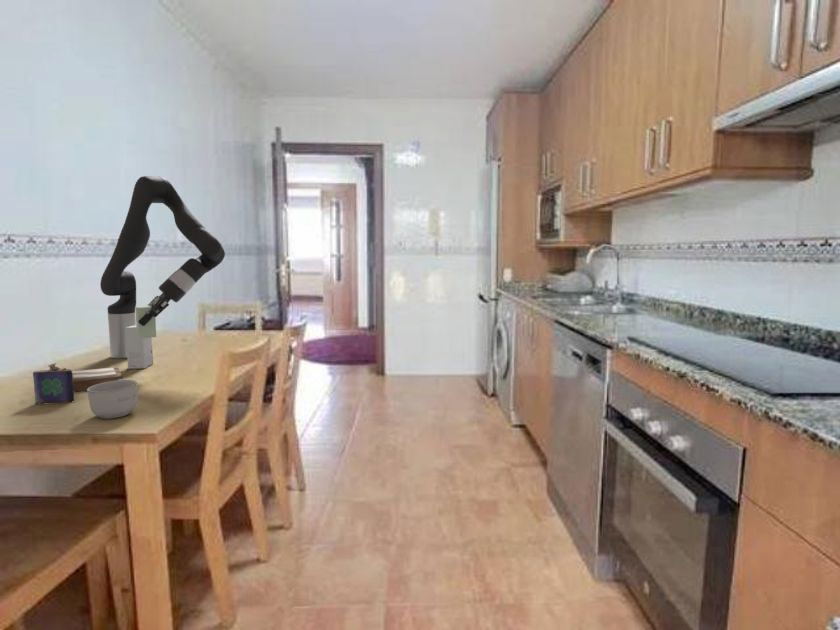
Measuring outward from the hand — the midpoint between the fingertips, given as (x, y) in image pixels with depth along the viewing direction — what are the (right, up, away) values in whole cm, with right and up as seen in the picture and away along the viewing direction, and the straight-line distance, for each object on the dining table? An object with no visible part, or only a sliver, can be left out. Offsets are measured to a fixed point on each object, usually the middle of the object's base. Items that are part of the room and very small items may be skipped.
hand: (139, 323), depth 168 cm
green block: (+1, -5, +2) cm, 5 cm away
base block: (-10, -19, -8) cm, 23 cm away
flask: (-8, -21, -27) cm, 36 cm away
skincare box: (-9, -16, +17) cm, 25 cm away
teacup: (+14, -23, -36) cm, 45 cm away
